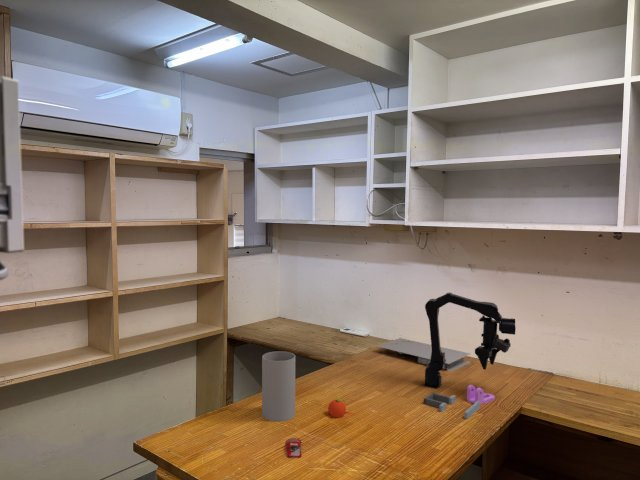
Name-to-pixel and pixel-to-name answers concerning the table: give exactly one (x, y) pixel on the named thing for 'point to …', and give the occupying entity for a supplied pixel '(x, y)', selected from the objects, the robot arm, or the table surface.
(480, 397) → the bracket
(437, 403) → the trap pit
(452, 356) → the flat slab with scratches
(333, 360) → the table surface
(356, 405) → the table surface
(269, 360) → the cylinder vase
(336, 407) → the tomato
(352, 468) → the table surface
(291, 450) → the red labelled container
